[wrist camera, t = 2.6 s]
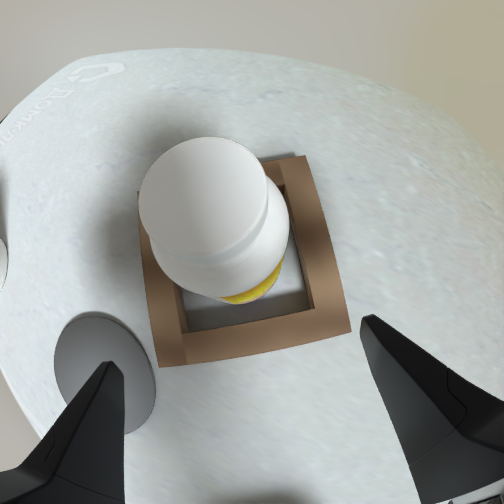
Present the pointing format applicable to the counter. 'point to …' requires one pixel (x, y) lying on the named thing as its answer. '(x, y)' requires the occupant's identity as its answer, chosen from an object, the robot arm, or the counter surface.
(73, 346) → the coaster
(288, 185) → the pocket block
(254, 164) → the supplement bottle
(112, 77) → the counter surface
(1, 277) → the pill bottle
